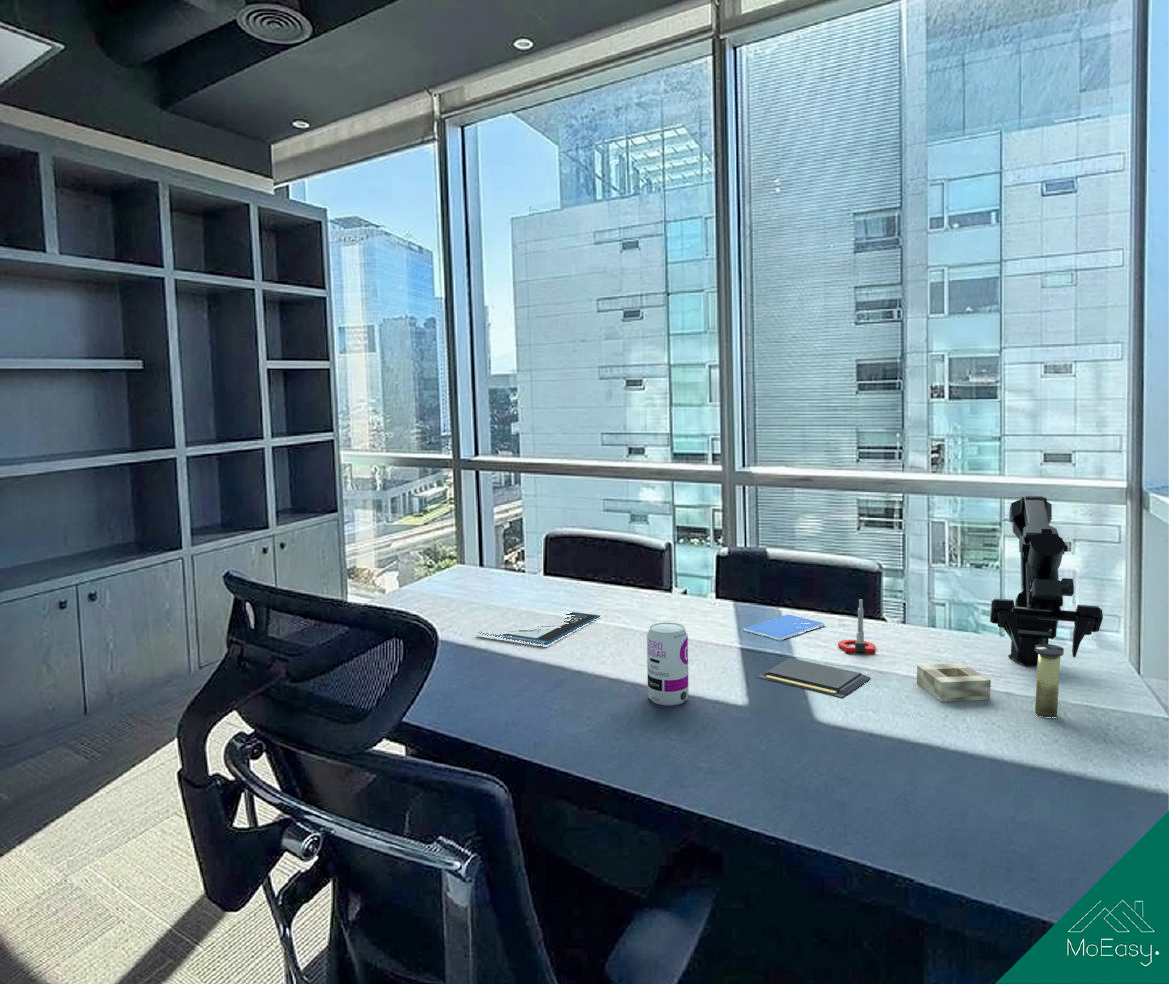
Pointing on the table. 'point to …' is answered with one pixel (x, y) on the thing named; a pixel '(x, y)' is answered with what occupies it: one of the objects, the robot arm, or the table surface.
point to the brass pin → (1047, 679)
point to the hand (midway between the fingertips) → (1046, 653)
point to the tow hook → (858, 638)
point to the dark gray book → (816, 677)
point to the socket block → (953, 682)
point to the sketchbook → (551, 630)
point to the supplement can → (667, 663)
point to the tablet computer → (783, 627)
